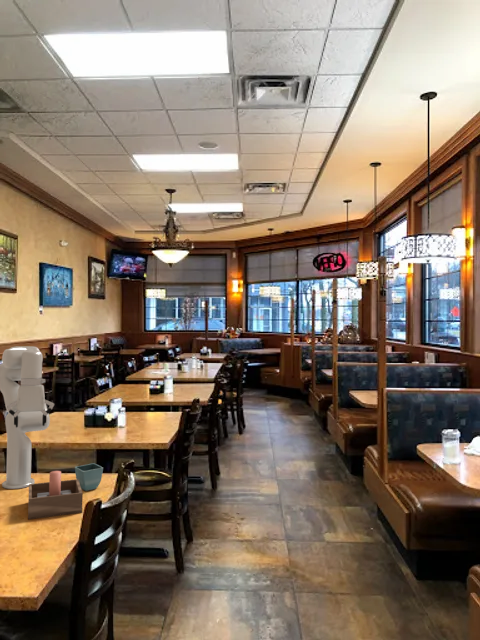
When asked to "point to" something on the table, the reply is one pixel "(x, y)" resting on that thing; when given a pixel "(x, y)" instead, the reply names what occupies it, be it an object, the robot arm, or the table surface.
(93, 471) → the flower pot
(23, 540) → the table surface
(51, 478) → the peg
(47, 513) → the open box
